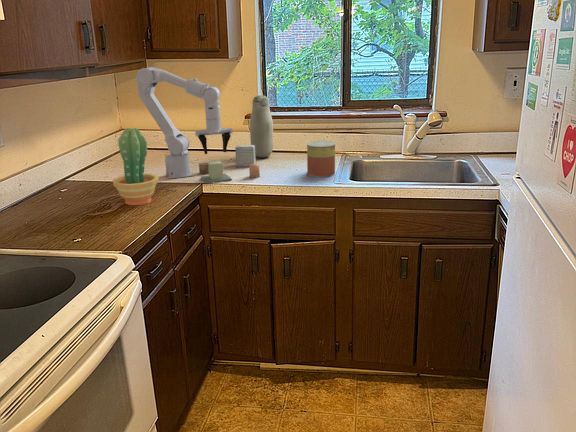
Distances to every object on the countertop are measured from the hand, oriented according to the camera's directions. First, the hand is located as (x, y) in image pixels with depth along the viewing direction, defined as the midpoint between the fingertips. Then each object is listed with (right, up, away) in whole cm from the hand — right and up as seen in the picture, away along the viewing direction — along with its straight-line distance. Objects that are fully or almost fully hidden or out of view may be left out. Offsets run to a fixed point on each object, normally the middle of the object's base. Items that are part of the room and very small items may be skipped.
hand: (215, 152), depth 212 cm
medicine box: (+11, -4, +18) cm, 22 cm away
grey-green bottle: (+17, +2, +33) cm, 37 cm away
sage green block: (+1, -10, -3) cm, 11 cm away
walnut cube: (-5, -8, +7) cm, 12 cm away
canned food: (+42, -8, +3) cm, 43 cm away
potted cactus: (-23, -20, -28) cm, 42 cm away
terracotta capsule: (+16, -10, 0) cm, 18 cm away
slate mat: (+1, -11, -3) cm, 11 cm away
